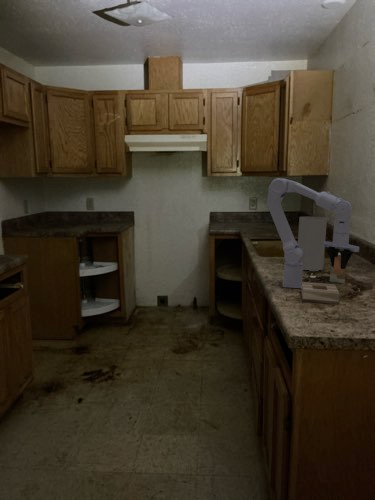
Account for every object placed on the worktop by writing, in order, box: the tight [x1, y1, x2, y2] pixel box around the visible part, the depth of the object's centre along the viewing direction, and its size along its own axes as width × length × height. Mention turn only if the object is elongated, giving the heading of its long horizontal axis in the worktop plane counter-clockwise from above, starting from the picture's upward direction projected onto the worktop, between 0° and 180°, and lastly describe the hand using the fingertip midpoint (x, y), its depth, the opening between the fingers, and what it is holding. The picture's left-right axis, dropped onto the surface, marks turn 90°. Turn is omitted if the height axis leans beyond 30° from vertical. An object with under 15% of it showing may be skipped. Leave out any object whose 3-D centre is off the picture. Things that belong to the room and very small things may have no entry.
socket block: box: [300, 281, 340, 305], centre depth 140 cm, size 12×12×4 cm
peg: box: [333, 257, 343, 274], centre depth 147 cm, size 4×4×6 cm
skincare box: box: [329, 252, 348, 284], centre depth 162 cm, size 6×4×12 cm
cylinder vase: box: [297, 216, 328, 272], centre depth 184 cm, size 12×12×25 cm
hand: (338, 267), depth 147 cm, fingers closed on peg, 3 cm apart
